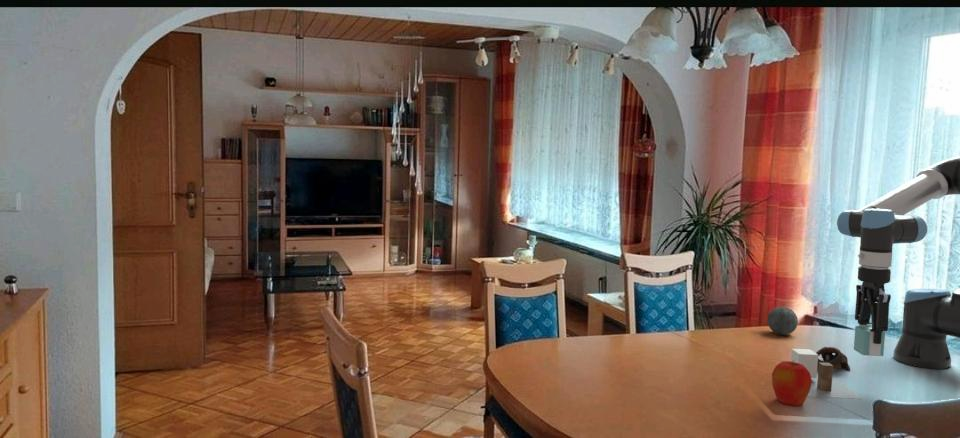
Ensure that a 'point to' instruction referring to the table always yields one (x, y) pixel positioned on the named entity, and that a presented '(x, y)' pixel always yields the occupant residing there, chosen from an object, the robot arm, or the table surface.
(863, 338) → the pale aqua cube
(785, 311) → the decorative ball
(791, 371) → the apple
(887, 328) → the robot arm
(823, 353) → the dark brown curved piece
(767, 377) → the table surface
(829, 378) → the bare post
